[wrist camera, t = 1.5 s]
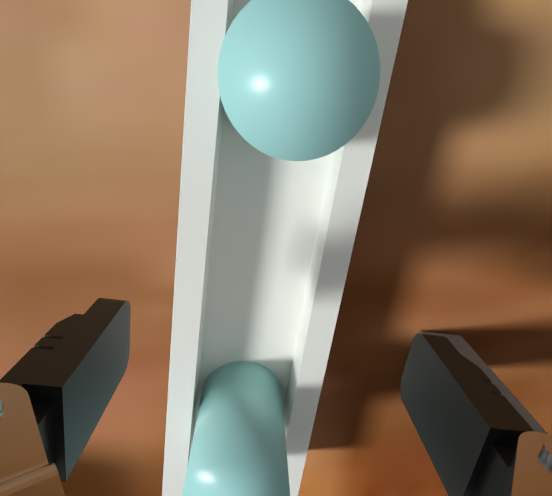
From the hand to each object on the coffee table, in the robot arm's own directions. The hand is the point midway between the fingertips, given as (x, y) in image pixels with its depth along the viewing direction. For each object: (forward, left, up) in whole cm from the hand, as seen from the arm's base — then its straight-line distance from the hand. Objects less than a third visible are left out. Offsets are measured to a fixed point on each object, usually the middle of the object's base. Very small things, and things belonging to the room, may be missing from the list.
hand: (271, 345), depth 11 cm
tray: (0, 0, -6) cm, 6 cm away
